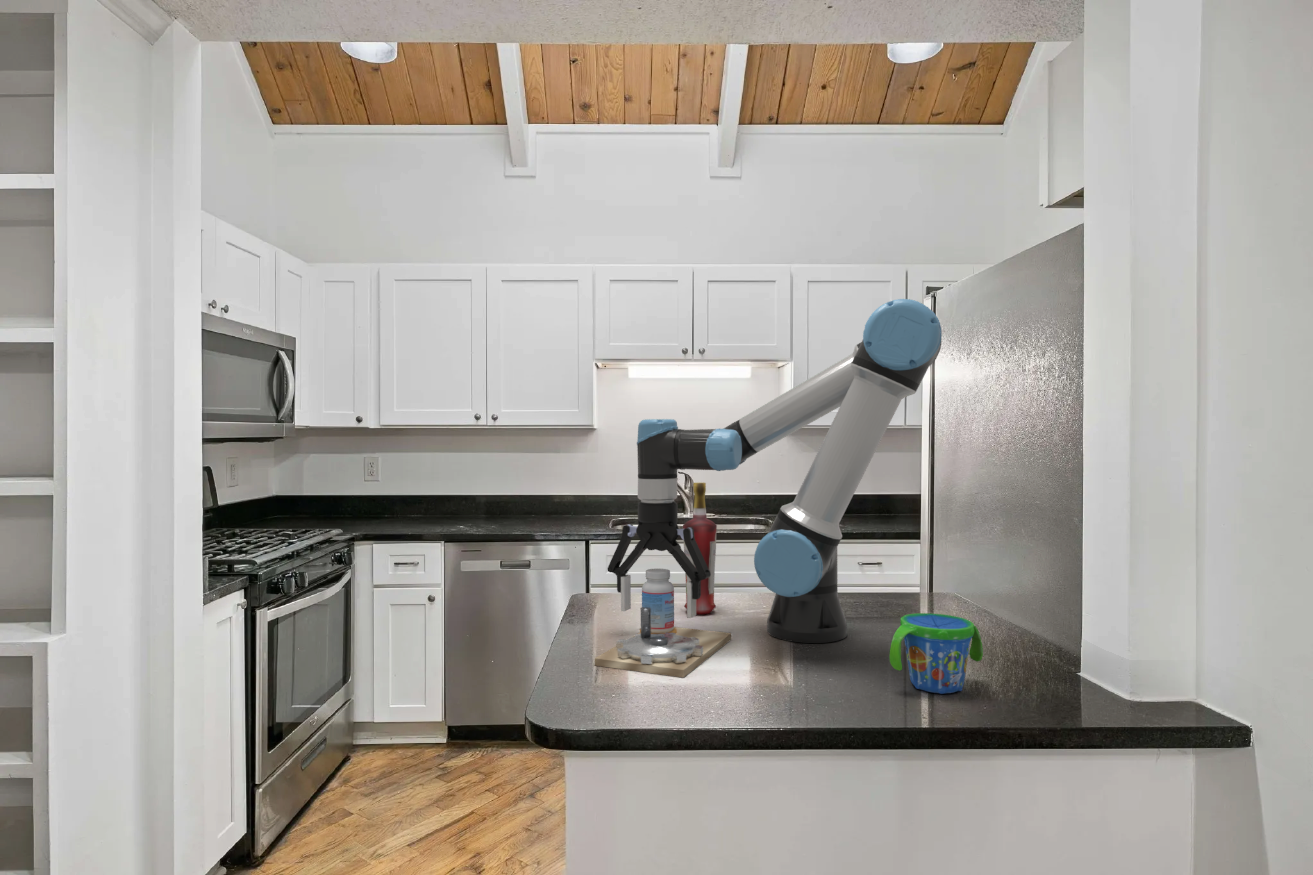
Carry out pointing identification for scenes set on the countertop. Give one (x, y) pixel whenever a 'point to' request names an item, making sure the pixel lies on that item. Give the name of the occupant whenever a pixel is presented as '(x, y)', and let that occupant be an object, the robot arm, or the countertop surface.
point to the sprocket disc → (657, 645)
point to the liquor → (703, 548)
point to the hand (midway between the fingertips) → (658, 613)
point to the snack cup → (936, 650)
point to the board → (706, 639)
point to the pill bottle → (659, 599)
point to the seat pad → (664, 633)
